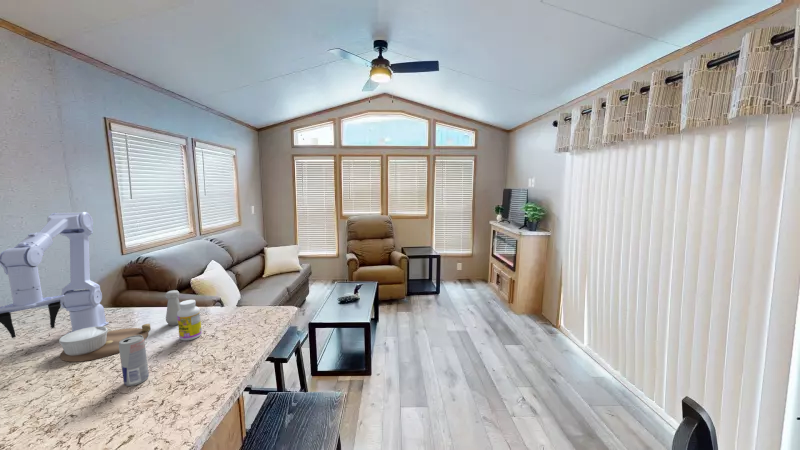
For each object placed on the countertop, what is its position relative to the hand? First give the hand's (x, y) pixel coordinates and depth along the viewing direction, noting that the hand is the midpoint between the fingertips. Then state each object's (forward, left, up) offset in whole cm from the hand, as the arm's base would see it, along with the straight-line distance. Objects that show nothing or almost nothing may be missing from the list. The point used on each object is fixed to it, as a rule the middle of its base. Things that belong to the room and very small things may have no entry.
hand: (33, 331), depth 95 cm
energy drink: (+15, +34, -11) cm, 39 cm away
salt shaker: (-23, +26, -11) cm, 37 cm away
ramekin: (-7, +8, -10) cm, 15 cm away
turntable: (-10, +11, -10) cm, 19 cm away
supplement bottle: (-10, +37, -11) cm, 40 cm away
